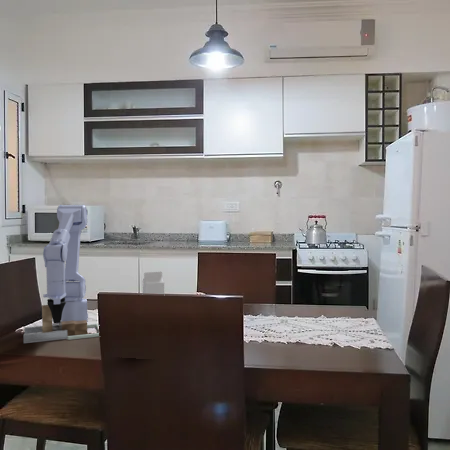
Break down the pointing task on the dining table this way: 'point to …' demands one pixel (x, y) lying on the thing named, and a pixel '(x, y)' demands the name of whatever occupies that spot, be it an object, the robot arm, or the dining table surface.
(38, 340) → the silver metal tray
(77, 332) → the walnut block
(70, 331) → the walnut block
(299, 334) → the dining table surface
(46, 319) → the tan block
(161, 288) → the milk
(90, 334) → the tray
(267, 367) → the dining table surface
